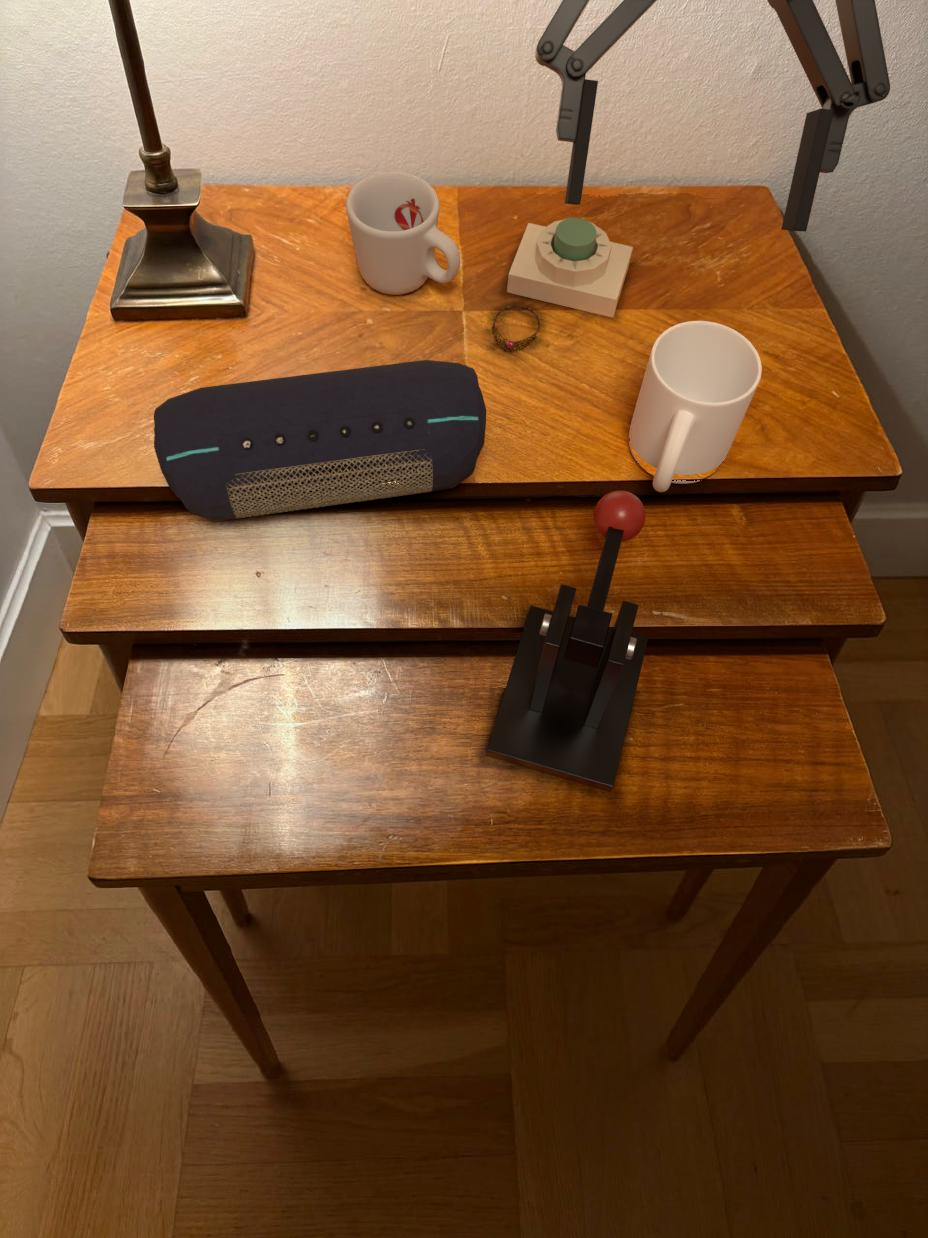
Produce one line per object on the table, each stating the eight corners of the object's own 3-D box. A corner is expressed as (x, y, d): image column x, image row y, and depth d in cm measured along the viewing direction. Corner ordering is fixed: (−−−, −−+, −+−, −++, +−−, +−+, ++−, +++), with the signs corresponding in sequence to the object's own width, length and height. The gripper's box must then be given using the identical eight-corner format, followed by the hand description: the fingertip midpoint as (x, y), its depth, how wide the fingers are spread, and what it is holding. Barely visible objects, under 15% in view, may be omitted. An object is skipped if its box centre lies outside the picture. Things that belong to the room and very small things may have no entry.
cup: (480, 280, 90) (485, 208, 83) (431, 333, 87) (431, 262, 80) (386, 232, 93) (382, 157, 86) (334, 281, 89) (326, 208, 82)
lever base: (529, 612, 74) (545, 526, 64) (645, 644, 73) (681, 562, 63) (485, 756, 69) (495, 688, 58) (610, 792, 68) (643, 730, 57)
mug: (696, 537, 78) (731, 457, 69) (598, 501, 79) (620, 419, 70) (736, 427, 83) (774, 340, 74) (644, 396, 84) (670, 306, 75)
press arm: (594, 509, 71) (604, 474, 68) (643, 522, 71) (654, 487, 68) (551, 662, 63) (560, 628, 60) (605, 677, 62) (617, 644, 60)
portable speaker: (177, 552, 76) (144, 476, 67) (170, 450, 80) (138, 365, 71) (495, 508, 78) (503, 428, 70) (471, 411, 83) (476, 325, 74)
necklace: (484, 352, 86) (484, 343, 85) (500, 301, 89) (500, 293, 88) (530, 361, 85) (531, 353, 85) (544, 311, 88) (546, 302, 87)
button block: (629, 265, 92) (637, 230, 88) (612, 318, 88) (620, 284, 85) (526, 241, 93) (530, 205, 89) (506, 292, 89) (509, 257, 86)
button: (597, 238, 88) (600, 222, 86) (588, 265, 86) (591, 250, 85) (559, 229, 88) (561, 213, 87) (549, 256, 87) (551, 240, 85)
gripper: (963, -162, 55) (863, 240, 63) (524, -218, 55) (480, 193, 63) (1031, -216, 48) (909, 242, 56) (529, -282, 48) (478, 190, 56)
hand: (683, 217), depth 59 cm, fingers open, 13 cm apart
